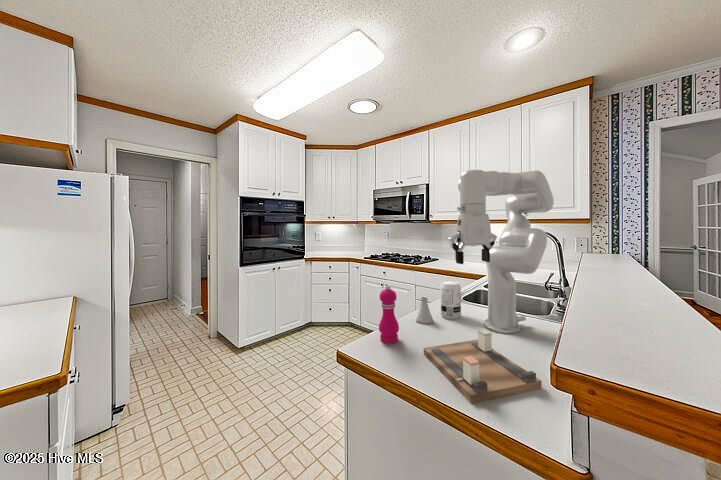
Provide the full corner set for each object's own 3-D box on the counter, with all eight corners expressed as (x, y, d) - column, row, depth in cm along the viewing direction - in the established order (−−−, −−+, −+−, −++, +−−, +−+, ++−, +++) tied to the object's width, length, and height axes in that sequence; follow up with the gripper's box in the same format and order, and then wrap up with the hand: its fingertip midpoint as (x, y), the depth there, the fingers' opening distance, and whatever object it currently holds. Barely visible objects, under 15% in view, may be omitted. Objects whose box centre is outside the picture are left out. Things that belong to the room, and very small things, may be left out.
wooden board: (423, 354, 86) (423, 342, 86) (478, 345, 91) (478, 333, 90) (471, 403, 63) (471, 387, 62) (541, 388, 67) (541, 373, 67)
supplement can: (438, 313, 121) (438, 280, 120) (457, 313, 121) (457, 280, 120) (443, 320, 113) (443, 285, 112) (463, 319, 113) (463, 284, 112)
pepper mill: (398, 345, 93) (397, 288, 91) (377, 343, 94) (376, 287, 93) (399, 335, 100) (398, 282, 98) (380, 334, 101) (378, 282, 100)
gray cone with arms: (430, 325, 108) (430, 301, 107) (413, 322, 112) (412, 299, 111) (435, 319, 114) (435, 296, 114) (419, 316, 118) (418, 294, 117)
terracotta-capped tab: (463, 377, 68) (463, 357, 68) (471, 376, 69) (471, 356, 68) (470, 384, 65) (470, 363, 65) (479, 383, 66) (479, 362, 66)
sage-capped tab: (478, 347, 84) (478, 330, 84) (484, 345, 85) (484, 329, 84) (484, 351, 81) (484, 334, 81) (491, 350, 82) (491, 333, 81)
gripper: (455, 210, 81) (455, 266, 82) (504, 208, 85) (503, 262, 86) (442, 211, 88) (442, 262, 89) (487, 209, 92) (487, 259, 93)
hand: (472, 262), depth 88 cm, fingers open, 9 cm apart
